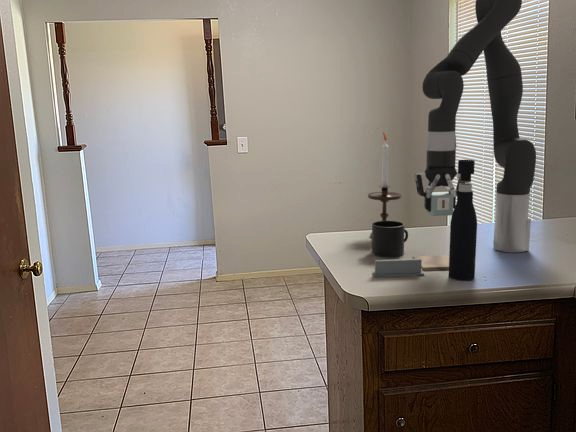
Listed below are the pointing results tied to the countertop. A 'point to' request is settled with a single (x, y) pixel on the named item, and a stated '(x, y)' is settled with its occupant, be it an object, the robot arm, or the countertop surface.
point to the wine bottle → (463, 228)
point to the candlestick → (384, 185)
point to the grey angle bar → (398, 268)
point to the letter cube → (441, 204)
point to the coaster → (434, 262)
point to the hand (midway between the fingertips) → (439, 210)
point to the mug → (388, 238)
